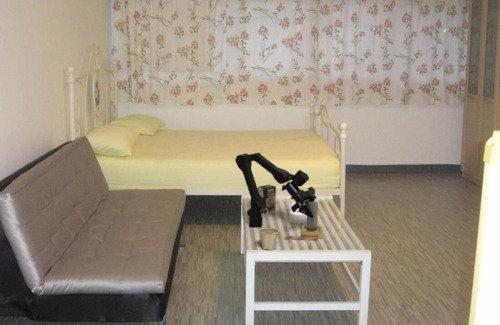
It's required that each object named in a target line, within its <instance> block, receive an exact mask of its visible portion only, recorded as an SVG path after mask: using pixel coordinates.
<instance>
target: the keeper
mask: <svg viewBox="0 0 500 325" xmlns="http://www.w3.org/2000/svg"><path fill="white" fill-rule="evenodd" d="M301 226H302V227H301V237H318V240H322V239H323V226H322V225H317V230H315V231H309V230H307V225H301Z"/></svg>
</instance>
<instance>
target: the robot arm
mask: <svg viewBox="0 0 500 325" xmlns="http://www.w3.org/2000/svg"><path fill="white" fill-rule="evenodd" d="M234 161H235V163H236V166H237V168H238V169H239V170H240V171H241V172H242V175H243V177H244V181H245V185H246V188H247V189H248V193H249V195H250V196H249V197H250V200H249V201H250V202H249V205H250V208H249V209H248V210H247V211H246V214H247V216H249V219H248V220H249V222H248V228H262V226H263V223H264V220H263V218H264V216H262V213H263V212H264V210H265V209H266V204H267V203H266V201H265V197H261V196H260V194H259V192H258V186H257V184H256V183H257V182H256V180H255V177H254V174H253V173H254V172H253V170H252V164H253V162H255V163H256V164H258V165H259V166H260V167H262V168H263V169H264V170H266V171H267V172H268V173H269V174H271V175H272V177H273V179H274V180H275V182H276V183H278V184H279V185H281V191H282V192H284V191H287V193H288V194H289V195H290V196H291V198H290V199H291V200H294V202H295V203H294V204H293V205H292V206H291V208H290V209H291V212H292V213H295V212H297V213H301V214H303V215H304V216H306V217H307V216H309V217H311V218H313V215H312V213H311V212H310V210H309V209H308V202H310V201H312V202H315V200H316V199H317V196H316V189H315V188H314V187H313V186H309V187H308V188H307V190H304V189H301V188H300V187H302V186H304V185H305V184H306V183H307V182H308V181H309V180H310V177H309V175H308V174H307V173H305V172H304V171H302V170H301V169H299V170H297V171H296V173H295V174H293V173H290V171H288V170H286V169H284V168H281V167H278V166H277V165H275V164H274V163H272V162H271V161H270V160H269V159H267V158H266V157H265V156H264V155H262V154H261V152H254V153H250V154H249V153H245V152H244V153H242V154H238V155H236V156H235V160H234ZM285 183H286V184H285Z"/></svg>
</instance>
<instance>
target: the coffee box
mask: <svg viewBox="0 0 500 325" xmlns="http://www.w3.org/2000/svg"><path fill="white" fill-rule="evenodd" d="M257 188H258V192H259V194H260V196H261V197H265V201H266V203H267V204H266V209H265V210H264V212H263V213H262V217H265V216H271V215H276V214H277V209H276V208H277V186H276V185H273V184H272V185H271V184H266V185H260V186H257Z"/></svg>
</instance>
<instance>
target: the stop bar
mask: <svg viewBox="0 0 500 325" xmlns="http://www.w3.org/2000/svg"><path fill="white" fill-rule="evenodd" d="M308 209H309V210H310V212H311V213H312V215H313V218H311V217H309V216H307V215H306V226H307V230H309V231H315V230H317V226H318V213H319V212H318V211H319V210H318V209H319V203H318V202H317V201H314V202H312V201H310V202H308Z"/></svg>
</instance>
